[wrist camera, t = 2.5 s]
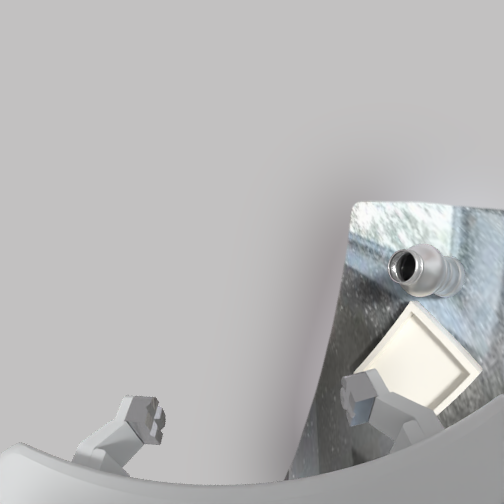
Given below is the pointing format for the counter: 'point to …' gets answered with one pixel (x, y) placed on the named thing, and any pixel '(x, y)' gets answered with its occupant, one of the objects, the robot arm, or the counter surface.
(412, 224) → the counter surface
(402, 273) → the plastic bottle
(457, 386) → the ceramic dish
